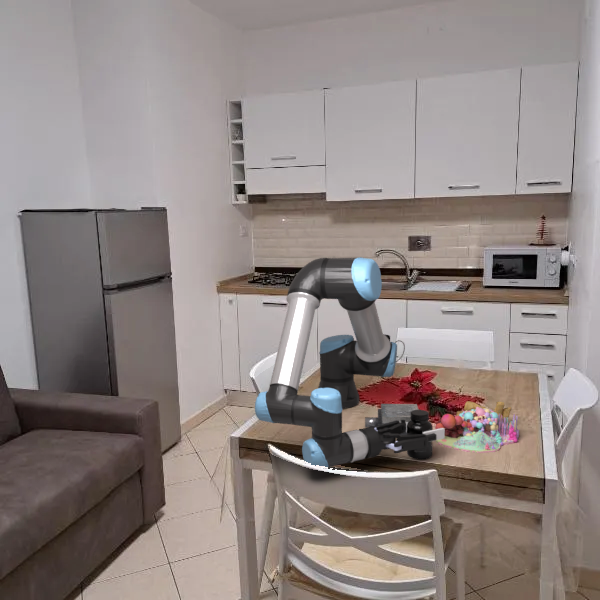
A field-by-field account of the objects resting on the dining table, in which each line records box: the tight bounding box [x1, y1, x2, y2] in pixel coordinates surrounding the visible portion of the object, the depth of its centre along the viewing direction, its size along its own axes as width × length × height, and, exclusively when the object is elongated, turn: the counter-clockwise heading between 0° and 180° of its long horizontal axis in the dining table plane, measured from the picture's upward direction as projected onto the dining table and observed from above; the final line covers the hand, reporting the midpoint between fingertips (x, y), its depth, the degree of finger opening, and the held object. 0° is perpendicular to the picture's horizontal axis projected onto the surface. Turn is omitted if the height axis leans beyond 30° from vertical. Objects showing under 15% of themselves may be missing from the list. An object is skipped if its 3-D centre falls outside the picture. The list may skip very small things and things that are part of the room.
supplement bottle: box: [406, 409, 434, 461], centre depth 149 cm, size 7×7×12 cm
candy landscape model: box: [434, 400, 520, 454], centre depth 162 cm, size 25×24×9 cm
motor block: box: [364, 403, 421, 438], centre depth 168 cm, size 17×13×6 cm
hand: (434, 428), depth 151 cm, fingers closed on supplement bottle, 7 cm apart
